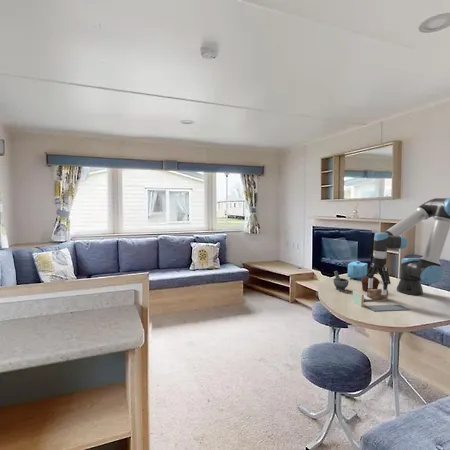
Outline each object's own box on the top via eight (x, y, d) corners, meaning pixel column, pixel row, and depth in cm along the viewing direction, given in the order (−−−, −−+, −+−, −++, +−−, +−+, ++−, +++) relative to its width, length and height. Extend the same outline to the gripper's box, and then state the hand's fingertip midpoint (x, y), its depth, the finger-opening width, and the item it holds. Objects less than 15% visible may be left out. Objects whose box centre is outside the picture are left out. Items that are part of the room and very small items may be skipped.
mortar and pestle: (351, 290, 211) (352, 273, 210) (340, 292, 207) (341, 274, 206) (338, 286, 221) (339, 269, 220) (328, 287, 217) (329, 270, 216)
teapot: (353, 275, 256) (354, 258, 255) (367, 277, 250) (368, 260, 248) (344, 280, 239) (345, 262, 238) (360, 282, 232) (361, 264, 231)
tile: (354, 301, 188) (355, 290, 187) (363, 306, 179) (363, 294, 179) (352, 301, 188) (353, 290, 187) (361, 306, 179) (361, 294, 178)
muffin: (360, 292, 208) (361, 277, 208) (359, 287, 219) (360, 273, 218) (380, 294, 205) (381, 279, 204) (378, 289, 215) (378, 275, 214)
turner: (382, 297, 198) (382, 287, 198) (389, 300, 191) (390, 291, 191) (353, 297, 195) (353, 288, 195) (359, 301, 189) (360, 291, 188)
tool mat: (400, 305, 183) (400, 304, 183) (410, 310, 175) (410, 309, 175) (365, 306, 179) (365, 305, 179) (373, 311, 171) (374, 310, 171)
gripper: (362, 253, 204) (359, 285, 205) (387, 261, 179) (384, 297, 181) (372, 254, 205) (370, 285, 206) (399, 261, 180) (396, 297, 182)
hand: (376, 291), depth 194 cm, fingers open, 13 cm apart
